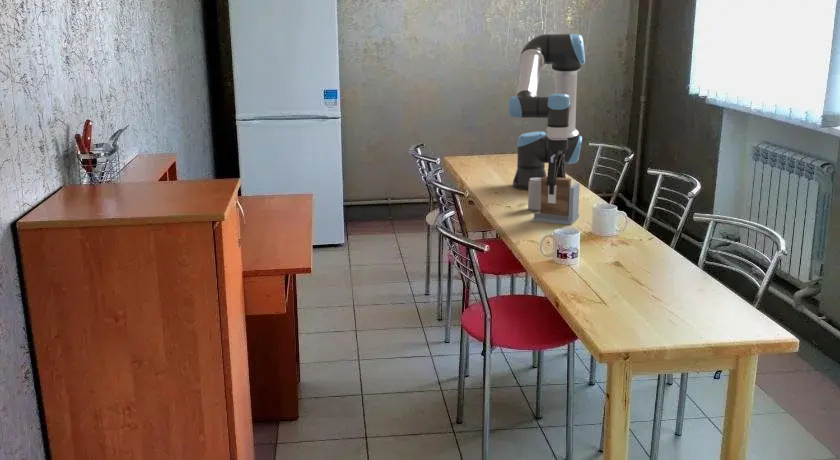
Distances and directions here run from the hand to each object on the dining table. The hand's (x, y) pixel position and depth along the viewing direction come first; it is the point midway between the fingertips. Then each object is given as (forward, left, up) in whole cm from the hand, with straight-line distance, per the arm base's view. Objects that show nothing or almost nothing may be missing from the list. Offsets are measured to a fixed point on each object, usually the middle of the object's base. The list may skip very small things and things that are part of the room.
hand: (555, 199), depth 285 cm
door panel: (0, 0, -6) cm, 6 cm away
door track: (0, 0, -7) cm, 7 cm away
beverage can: (-11, -10, -7) cm, 17 cm away
